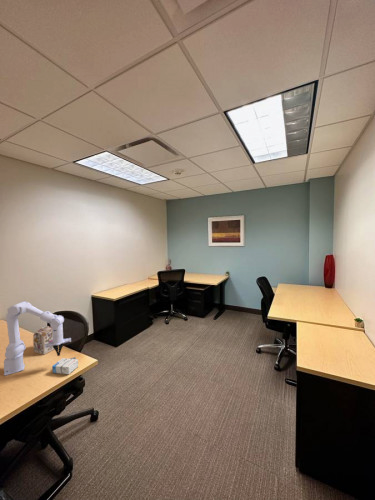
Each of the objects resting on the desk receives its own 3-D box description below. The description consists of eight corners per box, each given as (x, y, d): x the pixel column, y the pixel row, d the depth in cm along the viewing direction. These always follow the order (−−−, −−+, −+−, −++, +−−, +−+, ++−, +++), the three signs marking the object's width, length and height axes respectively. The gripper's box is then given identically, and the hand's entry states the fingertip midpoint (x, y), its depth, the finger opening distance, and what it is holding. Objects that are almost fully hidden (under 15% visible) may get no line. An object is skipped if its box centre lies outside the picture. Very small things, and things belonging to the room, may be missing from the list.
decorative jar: (43, 355, 147) (42, 331, 147) (33, 352, 151) (32, 329, 151) (59, 347, 159) (58, 324, 158) (48, 344, 163) (47, 322, 162)
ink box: (52, 373, 127) (68, 374, 125) (51, 365, 127) (68, 367, 124) (63, 364, 135) (78, 366, 133) (62, 357, 135) (78, 358, 133)
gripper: (44, 340, 124) (45, 362, 125) (71, 334, 133) (71, 354, 133) (44, 336, 130) (45, 356, 131) (70, 330, 138) (70, 349, 139)
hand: (58, 355), depth 132 cm, fingers closed
